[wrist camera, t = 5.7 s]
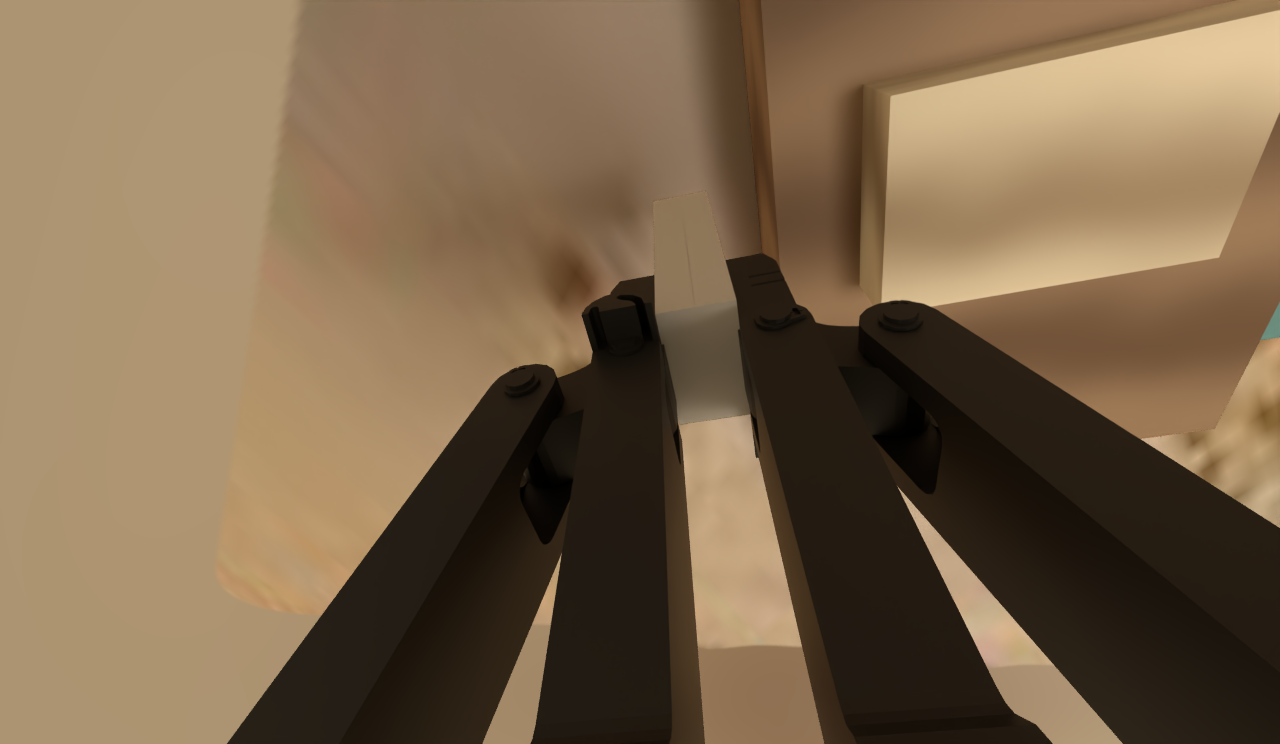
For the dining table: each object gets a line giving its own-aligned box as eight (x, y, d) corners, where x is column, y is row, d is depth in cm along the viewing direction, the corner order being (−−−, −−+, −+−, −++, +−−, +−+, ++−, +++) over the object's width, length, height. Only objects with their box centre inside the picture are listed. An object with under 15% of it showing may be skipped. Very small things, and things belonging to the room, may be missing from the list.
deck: (709, -327, 13) (730, -434, 10) (1498, -589, 11) (1862, -838, 8) (777, 423, 26) (795, 485, 23) (1138, 369, 24) (1215, 428, 21)
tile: (863, 84, 14) (890, 95, 13) (1243, -2, 13) (1326, -1, 12) (859, 285, 18) (880, 315, 16) (1162, 231, 17) (1218, 257, 15)
